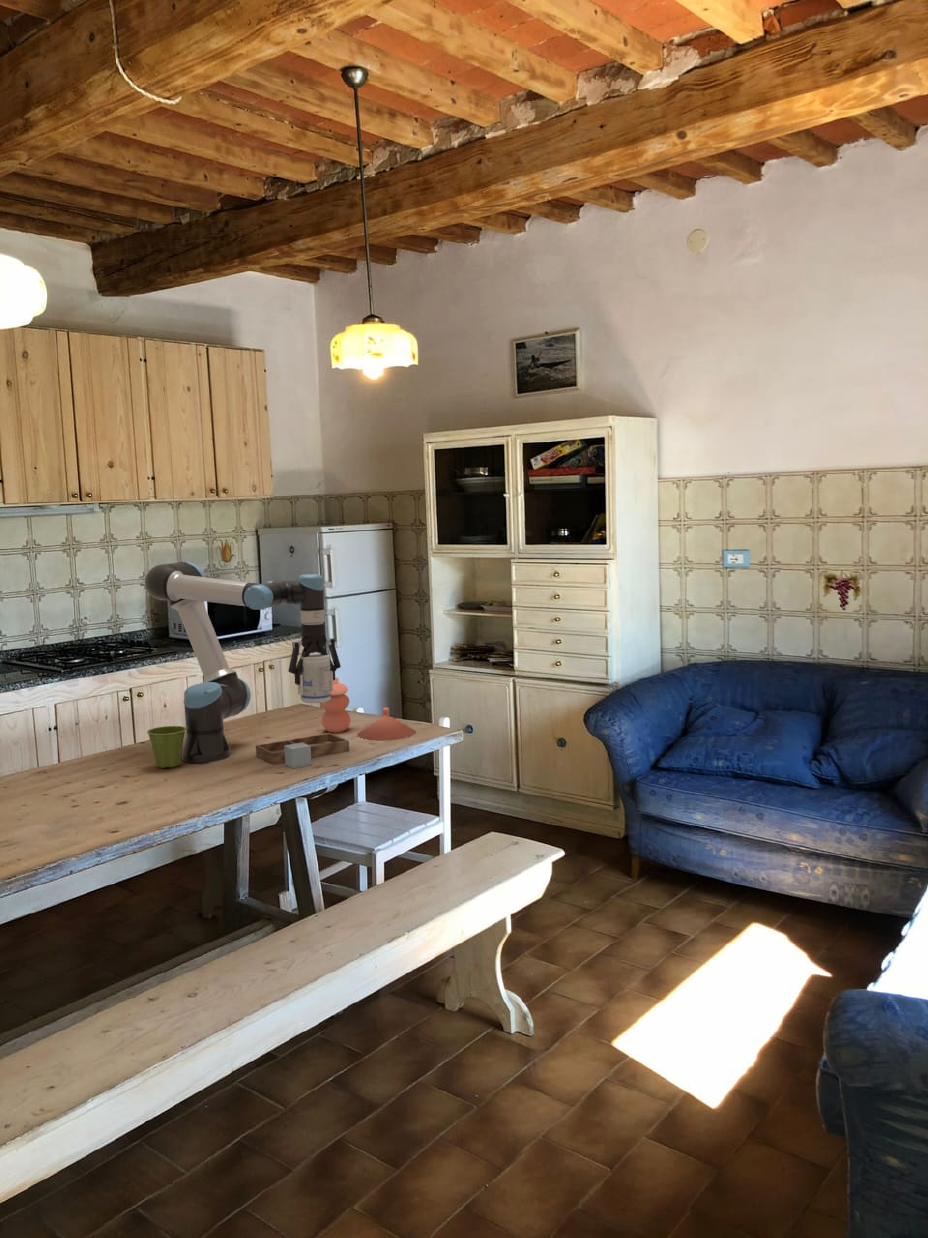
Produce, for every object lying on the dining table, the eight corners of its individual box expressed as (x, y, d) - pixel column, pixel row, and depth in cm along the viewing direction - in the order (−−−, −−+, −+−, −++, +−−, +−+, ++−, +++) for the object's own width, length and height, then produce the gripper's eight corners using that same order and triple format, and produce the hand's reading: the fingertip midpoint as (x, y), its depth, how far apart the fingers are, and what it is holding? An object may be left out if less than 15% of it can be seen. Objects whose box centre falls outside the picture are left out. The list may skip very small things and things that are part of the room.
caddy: (273, 764, 308) (272, 753, 307) (256, 755, 319) (255, 745, 319) (349, 750, 322) (348, 740, 321) (330, 742, 333) (329, 733, 333)
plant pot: (177, 770, 304) (175, 734, 303) (141, 770, 306) (139, 734, 305) (195, 760, 316) (193, 725, 314) (161, 760, 318) (158, 725, 317)
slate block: (293, 768, 302) (292, 749, 302) (285, 764, 307) (284, 745, 307) (311, 765, 305) (310, 745, 305) (303, 761, 310) (302, 742, 310)
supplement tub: (294, 702, 318) (292, 656, 317) (313, 697, 327) (311, 652, 325) (319, 704, 314) (317, 658, 312) (337, 699, 322) (335, 654, 320)
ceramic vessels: (427, 728, 350) (425, 675, 348) (402, 742, 330) (400, 686, 328) (337, 724, 362) (335, 672, 360) (309, 737, 343) (306, 683, 340)
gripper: (284, 627, 308) (287, 698, 311) (349, 621, 320) (352, 690, 322) (275, 625, 315) (278, 695, 317) (340, 619, 326) (342, 686, 329)
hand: (315, 692), depth 320 cm, fingers closed on supplement tub, 10 cm apart
